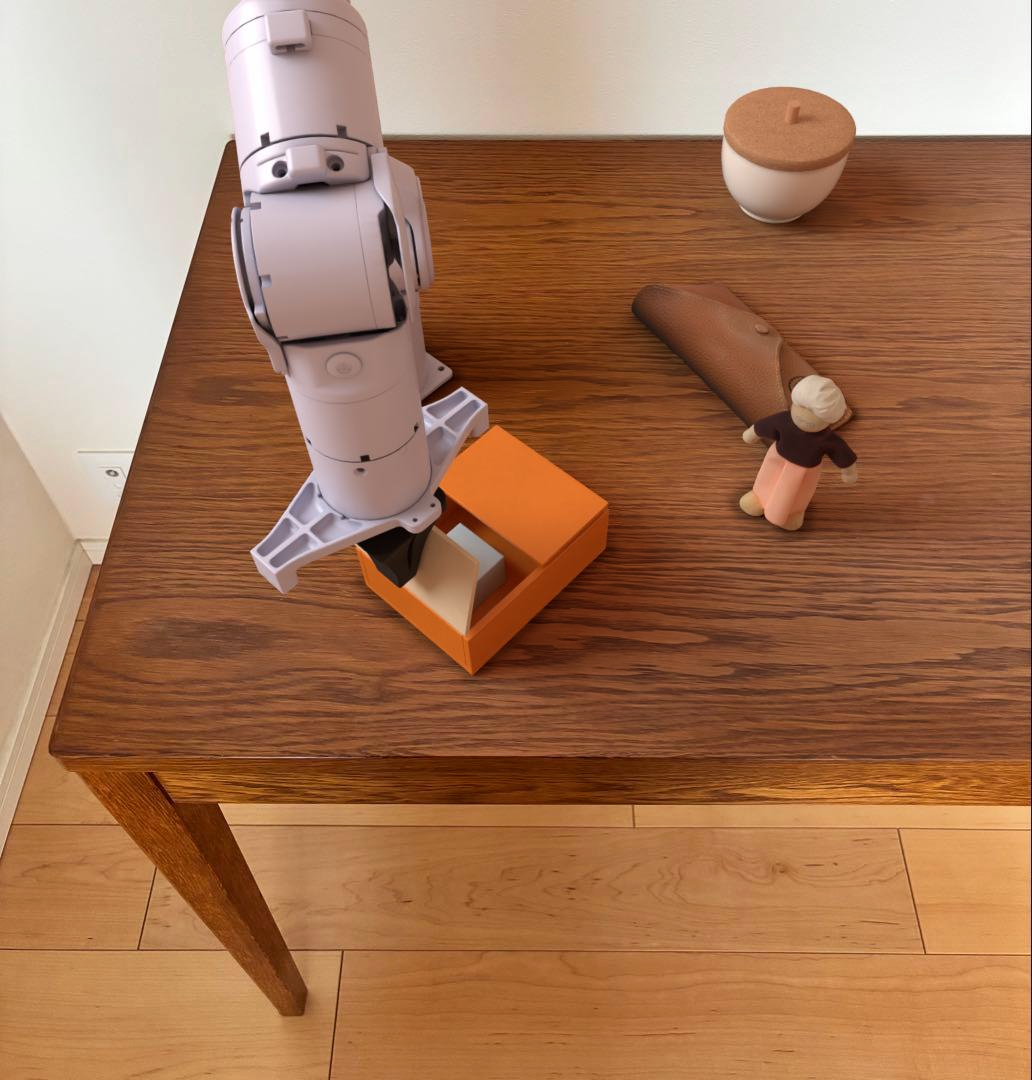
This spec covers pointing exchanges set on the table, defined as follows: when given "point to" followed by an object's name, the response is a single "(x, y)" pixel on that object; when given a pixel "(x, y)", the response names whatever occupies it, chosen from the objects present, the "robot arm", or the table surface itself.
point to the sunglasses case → (727, 348)
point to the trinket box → (784, 151)
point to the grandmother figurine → (798, 453)
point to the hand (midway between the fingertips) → (396, 571)
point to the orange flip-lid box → (507, 542)
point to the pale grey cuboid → (481, 562)
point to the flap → (446, 579)
